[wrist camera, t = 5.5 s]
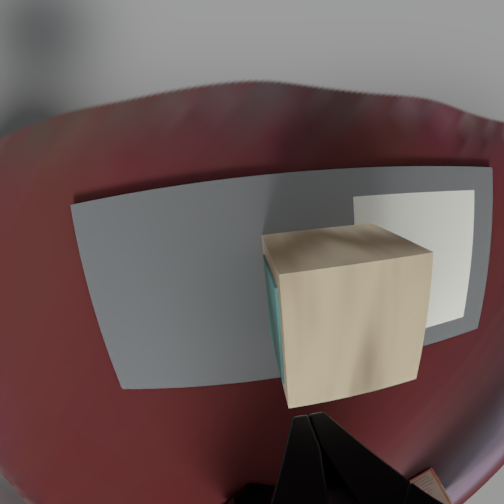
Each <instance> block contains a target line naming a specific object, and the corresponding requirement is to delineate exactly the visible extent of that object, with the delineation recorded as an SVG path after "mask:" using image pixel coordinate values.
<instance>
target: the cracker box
mask: <svg viewBox="0 0 504 504" xmlns="http://www.w3.org/2000/svg"><path fill="white" fill-rule="evenodd" d="M409 481H410V483H414V484H415V485H416V486H418V487H419V488H420V489H422V490H423V491H425V492H426V493H428V494H429V495H431V496H432V497H434V498H435V499H437V500H438V501H440V502H442V503H444V504H453V503H452V501H451V499H450V497H449V496H448V494H447V492H446V490H445V489H444V487H443V485H442V483H441V482H440V480H439V478H438V476H437V475H436V473H435V471H434V470H433V468H430V469H428V470H426V471H425V472H423V473H421V474H419V475H418V476H416V477H414V478H412V479H411V480H409Z"/></svg>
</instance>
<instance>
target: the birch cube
mask: <svg viewBox="0 0 504 504" xmlns="http://www.w3.org/2000/svg"><path fill="white" fill-rule="evenodd" d="M262 245H263V254H264V255H263V263H264V273H265V283H266V293H267V304H268V314H269V324H270V334H271V338H272V342H273V346H274V351H275V355H276V359H277V363H278V367H279V371H280V376H281V380H282V384H283V388H284V392H285V396H286V400H287V404H288V409H289V408H295V407H301V406H307V405H312V404H318V403H323V402H328V401H333V400H337V399H342V398H347V397H351V396H355V395H359V394H363V393H367V392H371V391H375V390H379V389H383V388H386V387H390V386H393V385H397V384H400V383H404V382H407V381H410V380H413V379H416V377H417V373H418V368H419V363H420V358H421V352H422V347H423V341H424V335H425V329H426V322H427V315H428V307H429V299H430V290H431V279H432V267H433V252H432V251H430V250H428V249H426V248H424V247H422V246H420V245H418V244H415V243H413V242H411V241H409V240H407V239H405V238H403V237H401V236H399V235H396V234H394V233H392V232H390V231H388V230H386V229H383V228H381V227H379V226H377V225H375V224H372V223H366V224H357V225H347V226H338V227H329V228H320V229H311V230H302V231H293V232H284V233H275V234H267V235H262Z"/></svg>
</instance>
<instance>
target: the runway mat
mask: <svg viewBox="0 0 504 504" xmlns="http://www.w3.org/2000/svg"><path fill="white" fill-rule="evenodd" d="M70 206H71V212H72V217H73V223H74V228H75V233H76V238H77V243H78V248H79V252H80V257H81V261H82V265H83V269H84V273H85V277H86V281H87V285H88V289H89V292H90V296H91V300H92V303H93V307H94V310H95V313H96V317H97V320H98V323H99V326H100V329H101V332H102V335H103V338H104V341H105V344H106V347H107V350H108V353H109V356H110V358H111V361H112V364H113V367H114V369H115V372H116V374H117V377H118V380H119V382H120V385H121V387H122V389H156V388H180V387H196V386H209V385H221V384H231V383H240V382H249V381H257V380H265V379H272V378H279V377H281V376H280V371H279V367H278V363H277V359H276V355H275V351H274V346H273V342H272V338H271V334H270V324H269V314H268V304H267V293H266V283H265V273H264V263H263V255H264V254H263V245H262V235H267V234H275V233H284V232H293V231H302V230H311V229H320V228H329V227H338V226H347V225H357V224H366V223H372V224H375V225H377V226H379V227H381V228H383V229H386V230H388V231H390V232H392V233H394V234H396V235H399V236H401V237H403V238H405V239H407V240H409V241H411V242H413V243H415V244H418V245H420V246H422V247H424V248H426V249H428V250H430V251H432V252H433V267H432V279H431V290H430V299H429V307H428V315H427V322H426V329H425V335H424V341H423V346H425V345H429V344H432V343H435V342H438V341H441V340H445V339H448V338H451V337H454V336H457V335H460V334H463V333H466V332H468V331H471V330H474V329H477V328H478V324H479V319H480V314H481V309H482V304H483V298H484V292H485V286H486V279H487V271H488V263H489V254H490V243H491V230H492V207H493V174H492V167H471V166H392V167H363V168H343V169H326V170H312V171H299V172H287V173H276V174H266V175H256V176H246V177H238V178H229V179H221V180H213V181H205V182H198V183H191V184H184V185H177V186H170V187H164V188H158V189H151V190H145V191H140V192H134V193H128V194H123V195H117V196H112V197H107V198H101V199H96V200H91V201H86V202H82V203H77V204H73V205H70Z"/></svg>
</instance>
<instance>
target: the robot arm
mask: <svg viewBox="0 0 504 504" xmlns="http://www.w3.org/2000/svg"><path fill="white" fill-rule="evenodd" d="M227 504H444V503H442V502H440V501H438V500H437V499H435V498H434V497H432V496H431V495H429V494H428V493H426V492H425V491H423V490H422V489H420V488H419V487H418V486H416V485H415V484H414V483H410V481H409V480H408V479H407V478H405V477H404V476H403V475H401V474H400V473H399V472H397V471H396V470H395V469H394V468H392V467H391V466H390V465H388V464H387V463H386V462H385V461H383V460H382V459H381V458H379V457H378V456H377V455H376V454H374V453H373V452H372V451H371V450H369V449H368V448H367V447H366V446H365V445H363V444H362V443H361V442H360V441H358V440H357V439H356V438H355V437H354V436H352V435H351V434H350V433H349V432H348V431H346V430H345V429H344V428H343V427H342V426H340V425H339V424H338V423H337V422H336V421H334V420H333V419H332V418H331V417H330V416H329V415H327V414H326V413H325V412H317V413H312V414H310V415H309V416H308V415H301V416H295V417H293V418H292V422H291V426H290V431H289V435H288V439H287V443H286V448H285V452H284V456H283V460H282V464H281V468H280V472H279V475H278V479H277V483H276V487H269V486H263V485H257V484H247V485H246V486H245V487H244V488H243V489H242V490H241V491H240V492H239V493H237V494H236V495H235V496H234V497H233V498H232V499H231V500H230V501H229V502H228V503H227Z"/></svg>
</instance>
